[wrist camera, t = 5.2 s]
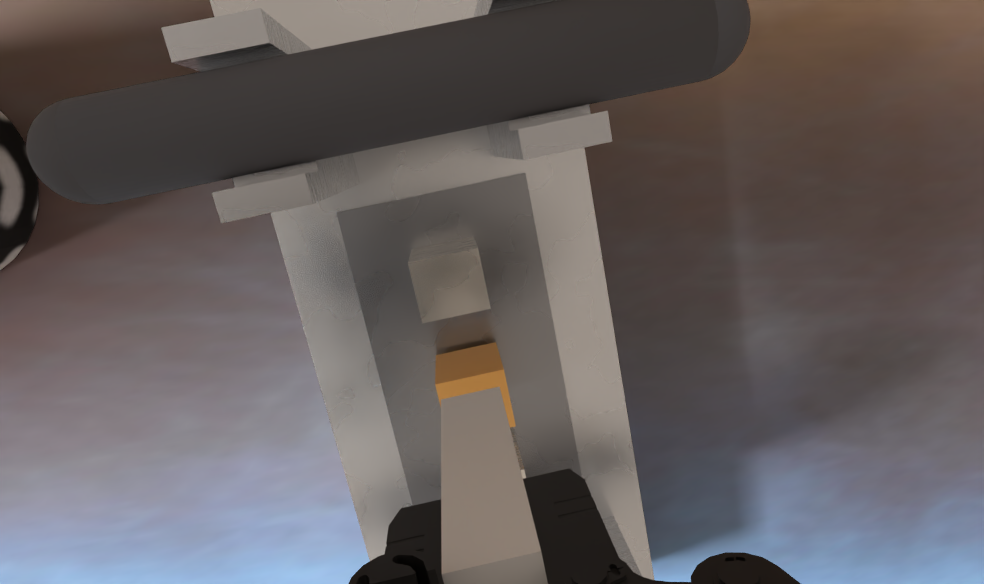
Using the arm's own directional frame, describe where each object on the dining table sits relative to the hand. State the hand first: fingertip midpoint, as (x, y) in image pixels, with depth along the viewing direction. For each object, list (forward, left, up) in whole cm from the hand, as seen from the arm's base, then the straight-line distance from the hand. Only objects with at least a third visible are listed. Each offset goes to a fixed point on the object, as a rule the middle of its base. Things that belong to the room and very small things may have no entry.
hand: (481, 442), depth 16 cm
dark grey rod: (0, +8, +1) cm, 9 cm away
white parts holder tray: (0, 0, -11) cm, 11 cm away
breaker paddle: (0, 0, -5) cm, 5 cm away
